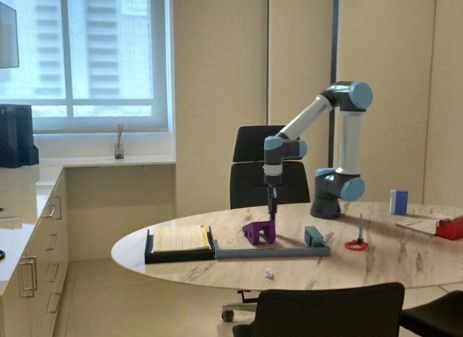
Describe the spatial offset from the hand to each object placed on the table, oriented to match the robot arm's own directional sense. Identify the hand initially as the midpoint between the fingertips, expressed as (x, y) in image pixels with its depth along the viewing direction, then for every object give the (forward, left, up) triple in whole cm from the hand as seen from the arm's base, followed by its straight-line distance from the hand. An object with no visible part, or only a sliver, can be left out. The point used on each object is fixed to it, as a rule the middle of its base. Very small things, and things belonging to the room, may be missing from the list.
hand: (272, 227), depth 208 cm
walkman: (-69, -28, -3) cm, 74 cm away
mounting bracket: (+7, +6, -3) cm, 10 cm away
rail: (+4, +15, -3) cm, 16 cm away
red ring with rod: (-31, +18, -3) cm, 36 cm away
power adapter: (+8, +45, -3) cm, 46 cm away
